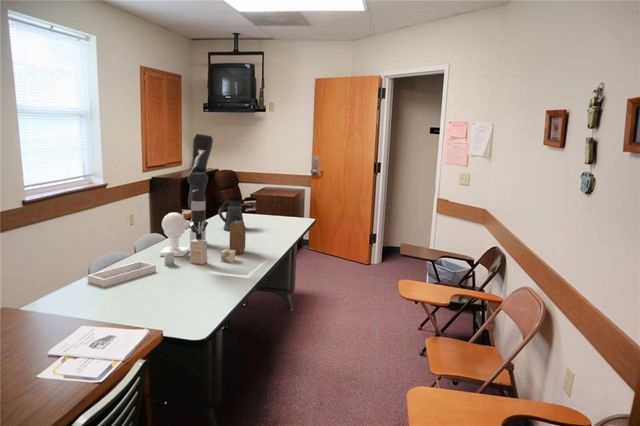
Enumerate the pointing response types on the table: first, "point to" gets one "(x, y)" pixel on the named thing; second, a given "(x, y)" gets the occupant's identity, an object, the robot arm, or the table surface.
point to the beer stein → (231, 213)
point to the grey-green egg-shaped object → (169, 258)
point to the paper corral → (99, 276)
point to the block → (237, 237)
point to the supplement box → (198, 251)
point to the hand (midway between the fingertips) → (198, 239)
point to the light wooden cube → (227, 255)
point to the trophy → (174, 233)
